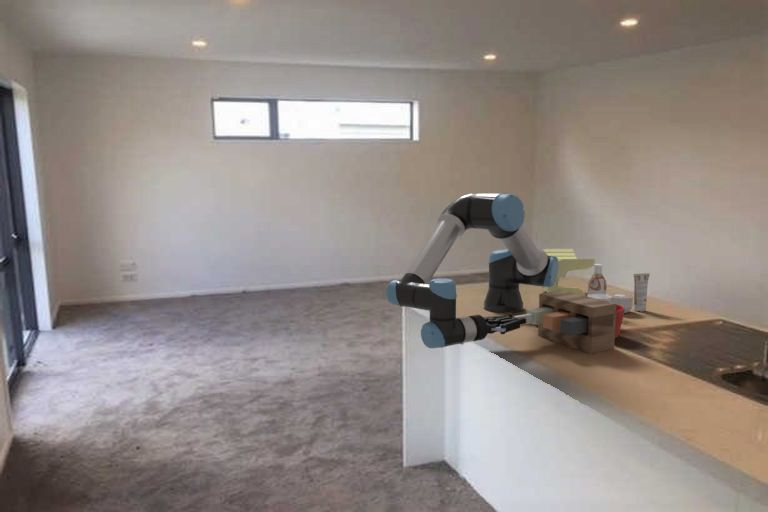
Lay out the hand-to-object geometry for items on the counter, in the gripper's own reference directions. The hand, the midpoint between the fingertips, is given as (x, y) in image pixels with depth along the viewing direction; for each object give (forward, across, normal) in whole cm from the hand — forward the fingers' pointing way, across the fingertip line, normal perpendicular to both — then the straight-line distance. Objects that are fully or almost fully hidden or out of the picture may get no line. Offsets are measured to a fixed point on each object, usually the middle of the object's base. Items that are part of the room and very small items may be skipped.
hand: (530, 318), depth 185 cm
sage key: (+5, 0, -2) cm, 6 cm away
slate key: (+6, +14, -2) cm, 15 cm away
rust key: (+6, +7, -2) cm, 9 cm away
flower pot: (+26, +7, -8) cm, 28 cm away
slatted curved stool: (+60, -45, -8) cm, 76 cm away
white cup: (+35, -4, -8) cm, 37 cm away
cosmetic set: (+55, -12, -8) cm, 57 cm away
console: (+12, +7, -8) cm, 16 cm away
